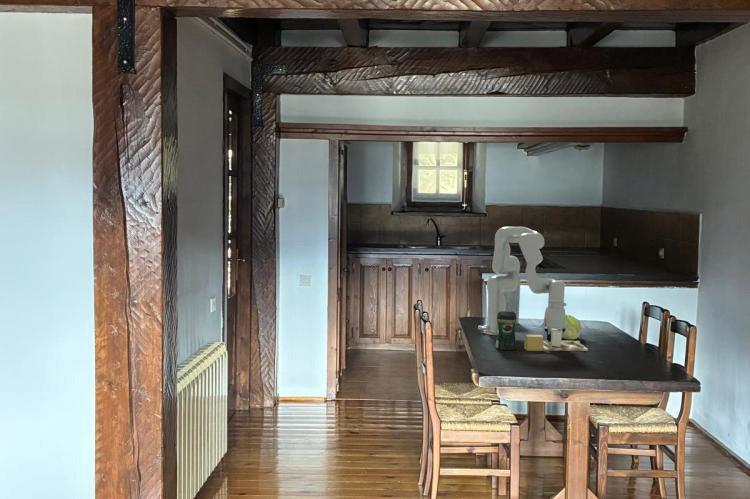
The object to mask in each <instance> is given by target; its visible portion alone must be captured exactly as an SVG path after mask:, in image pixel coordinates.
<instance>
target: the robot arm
mask: <svg viewBox="0 0 750 499" xmlns="http://www.w3.org/2000/svg"><path fill="white" fill-rule="evenodd" d="M509 243H510V244H514V243H516V244H517V243H518V245H519V248H520V250H521V253H522V255H523V258H524V260H525V262H526V267H525V270H524V271H525V274H524V275H525V280H526V283H527V286H528V288H529V289H530V291H531V292H532V293H534V294H535V295H536V294H537V295H540V294H548V302H547V303H548V304H547V307H546V308H545V310H544V318H543V322H542V324H541V325H540V328H541V329H542V330H543V331H544V332H545V333H546V341H548V342H551V334H550V332H551V329H555V328H558V330H559V331H561V332H562V334H563V332H564V331H565V330H567V329H568V328H569V327H568V325H567V323H566V315H567V314H566V309H565V307H567V303H566V302H565V287H566V286H565V284H566V283H565V281H564V280H558V279H554V278H551V277H550V278H549V277H546V278H539V276H538V274H537V271H536V267H537V266H538V265H539V264H540V263H541V262H542V261H543V259H544V258H543V255H542V252H541V250H540V249H542V248H543V247H544V246H545V239H544V236H543V235H542V233H540V232H538V231H537V230H533V229H530V228H528V227H526V226H503V227H501V228H499V229H498V230H497V231H496V233H495V236H494V251H493V258H492V265H491V266H492V271H493V272H494V273H496V274H498V275H492V276H490V277H489V278H488V280H487V282H486V289H487V318H486V320H487V321H486V324H485V325H478V326H477V330H481V331H483V333H484V334H486V335H491V336H497V331H498V323H497V314H498V312H500V311H505V308H506V301H505V297H504V295H503V293H508V292H513V291H515V289H516V288H517V284H518V278H520V270H521V263H520V260H519V259H518V257H517V256H515V255H511V246H510V244H509ZM499 274H500V275H499ZM503 274H504V275H503ZM562 328H563V329H562ZM561 341H563V338H561Z"/></svg>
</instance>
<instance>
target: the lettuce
mask: <svg viewBox="0 0 750 499" xmlns="http://www.w3.org/2000/svg"><path fill="white" fill-rule="evenodd" d="M566 323H567V325H568V327H569V328H568V329H567V330H565V331H564V332H563V334H562V339H565V340H566V341H576V340H577V339H578V338H579V336H580V335H581V332H582V325H581V321H580V320H579V319H578V318H576V317H574V316H572V315H570V314H566ZM554 329H558V328H554ZM562 329H563V328H562Z"/></svg>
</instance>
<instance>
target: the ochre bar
mask: <svg viewBox="0 0 750 499" xmlns="http://www.w3.org/2000/svg"><path fill="white" fill-rule="evenodd" d="M544 338H545V337H544V336H543V335H542V334H524V345H523V346H524V347H523V349H524V350H526V351H528V352H529V351H531V352H532V351H533V352H535V351H536V352H541V351H542V352H543V351H544V350H543V341H545V339H544Z"/></svg>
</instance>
